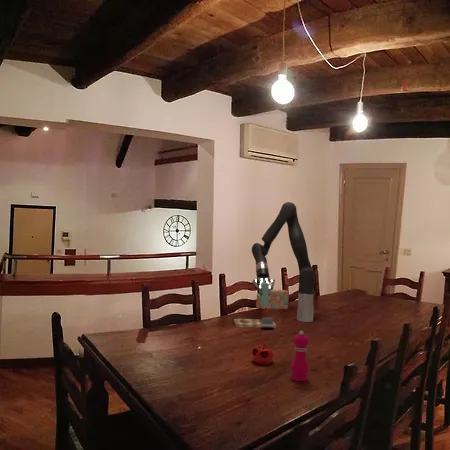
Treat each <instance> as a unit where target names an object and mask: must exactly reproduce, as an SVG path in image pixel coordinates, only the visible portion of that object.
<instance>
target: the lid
mask: <svg viewBox="0 0 450 450" xmlns="http://www.w3.org/2000/svg"><path fill="white" fill-rule="evenodd" d="M261 319H262V322H260V324H261V326H262V327H261V328H270V327H275V325H274V324H273V321H274V318H273V317H262V318H261Z"/></svg>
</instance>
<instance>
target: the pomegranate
mask: <svg viewBox="0 0 450 450" xmlns="http://www.w3.org/2000/svg"><path fill="white" fill-rule="evenodd" d="M269 346H272V345H271V344H268V345H266V341H263V343H262V345H261V344H260V343H259V344H257V345H256V346H255V347H253V348H252V351H251V356H252V361H253V362H254V363H256V364H259V365H270V364H271V363H272V362H273V361H274V358H275V353H274V351H273V350H272V349H271V347H269Z"/></svg>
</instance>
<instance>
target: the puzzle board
mask: <svg viewBox="0 0 450 450" xmlns="http://www.w3.org/2000/svg"><path fill="white" fill-rule="evenodd" d="M233 322H234V324H235V326H236V328H239V327H240V328H263V327H262V326H261V324H260V322H262V318H260V319H259V318H257V319H256V318H234V319H233ZM273 324H274V325H275V327H269V328H273V329H274V328H277V324H276V323H275V322H274V320H273Z"/></svg>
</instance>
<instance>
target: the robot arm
mask: <svg viewBox="0 0 450 450" xmlns="http://www.w3.org/2000/svg"><path fill="white" fill-rule="evenodd" d="M286 224H287V231H288V232H287V233H288V240H289V242H290V247H291V250H292V252H293V254H294V257H295V259H296V261H297V266H298V272H299V273H298V275H299V276H298V277H299V279H298V295H297V296H298V297H297V311H296V313H297V316H296V320H297V321H298V322H304V323H310V322H314V307H315V306H314V290H315V278H316V277H315V276H316V274H315V271H314V269H313V267H312V263H311V262H310V259H309V255H308V254H309V253H308V247H307V242H306V240H305V239H306V238H305V235H304V233H303V229H302V227H301V224H300V222H299V217H298V212H297V206H296V205H295V204H294V203H293V202H290V201H287V202H284V203H283V204H282V206H281V208H280V210H279V212H278V215H277V216H276V217H275V219H274V221H273V222H272V223H271V225H270V226H269V227H268V228H267V230H266V231H265V233H264V234H263V236H262V237H261V240H262V241H263V245H262V244H261V243H258V242H256V243H254V244H252V246H251V254H252V256H253V258H254V261H255V273H256V279H254V278H253V279H252V284H253V286H254V289H255V290H258V294H260V295H261V296H262V289H261V283H269V296H270V294H271V290H274V286H275V281H276V279H271V278H270V271H269V266H268V259H267V257H266V256H267V255H268V253H269V252H270V248H271V246H272V243H273V242H274V241H275V239H276V238H277V237H278V235H279V233H280V231H281V230H282V228H283V226H284V225H286ZM270 283H271V285H270ZM258 284H259V285H258Z"/></svg>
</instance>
